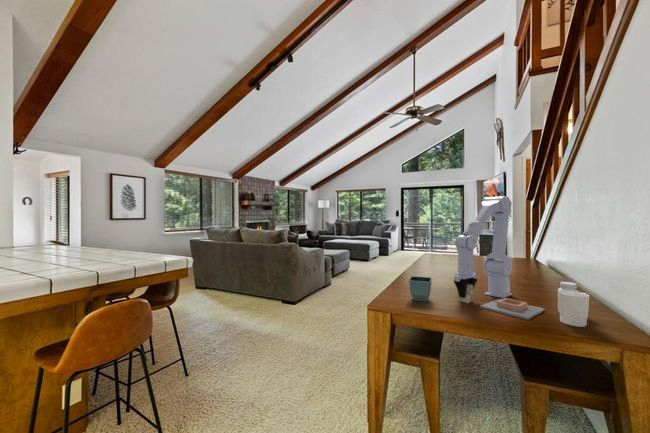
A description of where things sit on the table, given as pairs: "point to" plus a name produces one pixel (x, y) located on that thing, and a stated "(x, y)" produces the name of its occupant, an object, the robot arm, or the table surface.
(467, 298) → the peg
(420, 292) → the flower pot
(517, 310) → the holder
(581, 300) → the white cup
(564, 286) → the pill bottle
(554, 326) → the table surface
